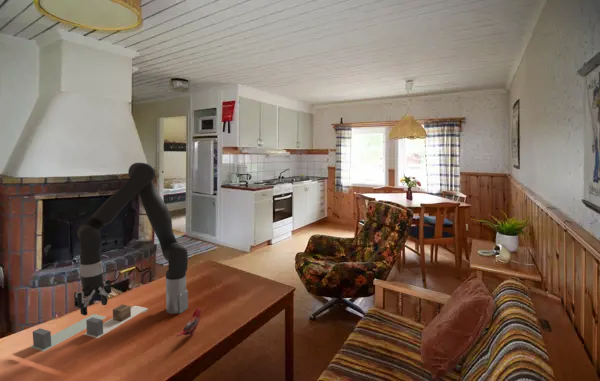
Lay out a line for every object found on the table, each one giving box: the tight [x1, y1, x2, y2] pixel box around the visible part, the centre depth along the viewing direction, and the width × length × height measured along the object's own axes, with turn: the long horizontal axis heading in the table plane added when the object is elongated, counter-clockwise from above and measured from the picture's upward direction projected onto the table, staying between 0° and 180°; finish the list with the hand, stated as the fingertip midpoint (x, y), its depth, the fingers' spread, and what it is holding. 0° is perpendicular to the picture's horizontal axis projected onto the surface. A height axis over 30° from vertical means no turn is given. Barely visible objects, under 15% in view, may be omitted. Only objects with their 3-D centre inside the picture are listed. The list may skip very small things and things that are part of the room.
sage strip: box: [29, 313, 107, 352], centre depth 127 cm, size 8×26×7 cm, turn 162°
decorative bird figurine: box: [176, 307, 202, 338], centre depth 126 cm, size 3×18×10 cm, turn 167°
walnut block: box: [112, 304, 131, 322], centre depth 138 cm, size 5×5×5 cm
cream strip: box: [83, 305, 149, 339], centre depth 136 cm, size 8×26×7 cm, turn 162°
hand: (94, 309), depth 125 cm, fingers open, 8 cm apart
